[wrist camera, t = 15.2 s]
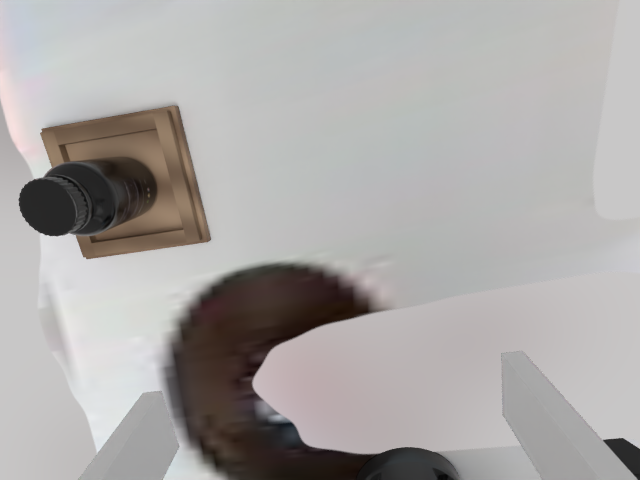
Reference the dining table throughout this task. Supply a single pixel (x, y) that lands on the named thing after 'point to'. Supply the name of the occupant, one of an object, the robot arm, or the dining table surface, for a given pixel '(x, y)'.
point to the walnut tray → (162, 162)
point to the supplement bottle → (88, 196)
